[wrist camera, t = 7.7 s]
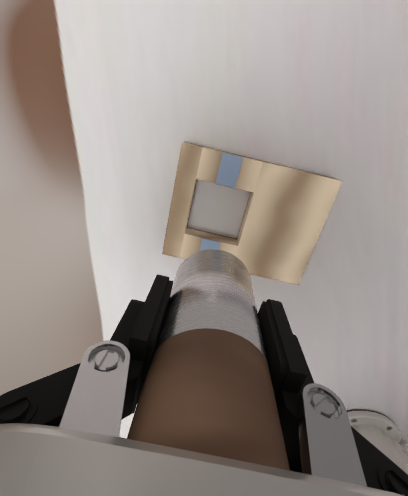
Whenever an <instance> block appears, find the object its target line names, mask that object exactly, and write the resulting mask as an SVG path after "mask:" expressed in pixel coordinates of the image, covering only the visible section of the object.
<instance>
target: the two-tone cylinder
mask: <svg viewBox="0 0 408 496" xmlns="http://www.w3.org/2000/svg"><path fill="white" fill-rule="evenodd" d="M127 439H131V440H136V441H141V442H146V443H151V444H157V445H162V446H167V447H172V448H178V449H183V450H188V451H193V452H198V453H203V454H209V455H214V456H219V457H224V458H229V459H234V460H239V461H244V462H249V463H254V464H259V465H264V466H269V467H274V468H279V469H284V470H289V471H290V468H289V463H288V458H287V453H286V448H285V443H284V439H283V434H282V429H281V424H280V419H279V415H278V410H277V405H276V400H275V395H274V391H273V386H272V381H271V376H270V371H269V367H268V362H267V357H266V352H265V347H264V342H263V338H262V333H261V328H260V323H259V318H258V314H257V309H256V304H255V299H254V294H253V290H252V285H251V280H250V275H249V272H248V270H247V268H246V266H245V265H244V263H243V262H242V261H241V260H240V259H239V258H237V257H236V256H234V255H233V254H231V253H229V252H226V251H223V250H217V249H209V250H202V251H199V252H196V253H194V254H192V255H191V256H189V257H188V258H187V259H185V260H184V262H183V263H182V264H181V266H180V267H179V269H178V271H177V275H176V278H175V281H174V285H173V288H172V291H171V295H170V299H169V303H168V306H167V309H166V313H165V316H164V319H163V323H162V326H161V329H160V333H159V336H158V339H157V343H156V346H155V349H154V353H153V356H152V360H151V363H150V366H149V368H148V371H147V374H146V377H145V381H144V384H143V387H142V390H141V394H140V397H139V400H138V404H137V407H136V410H135V414H134V417H133V420H132V424H131V427H130V430H129V434H128V437H127Z"/></svg>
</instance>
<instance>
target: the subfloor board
mask: <svg viewBox="0 0 408 496" xmlns="http://www.w3.org/2000/svg"><path fill="white" fill-rule="evenodd" d="M197 179H199V180H203V181H208V182H212V183H215V184H219V185H223V186H227V187H231V188H237V189H241V190H245V191H250V192H251V194H250V197H249V201H248V204H247V207H246V211H245V214H244V218H243V221H242V224H241V228H240V231H239V235H238V238H237V239H233V238H229V237H224V236H220V235H216V234H211V233H207V232H203V231H198V230H194V229H190V228H187V224H188V219H189V214H190V210H191V205H192V200H193V195H194V191H195V186H196V181H197ZM342 182H343V181H340V180H337V179H335V178H331V177H327V176H322V175H318V174H314V173H310V172H306V171H302V170H298V169H294V168H289V167H285V166H281V165H277V164H273V163H269V162H265V161H261V160H257V159H252V158H248V157H244V156H240V155H236V154H232V153H228V152H224V151H219V150H215V149H211V148H207V147H203V146H199V145H195V144H191V143H186V142H183V143H182V146H181V151H180V157H179V163H178V168H177V174H176V179H175V185H174V191H173V196H172V202H171V207H170V213H169V219H168V224H167V230H166V235H165V241H164V247H163V252H162V254H165V255H169V256H173V257H178V258H182V259H187V258H188V257H189V256H191V255H192V254H194V253H196V252H199V251H202V250H209V249H217V250H223V251H226V252H229V253H231V254H233V255H234V256H236V257H237V258H239V259H240V260H241V261H242V262H243V263H244V265H245V266H246V268H247V270H248V272H249V274H252V275H257V276H261V277H265V278H270V279H274V280H278V281H283V282H287V283H292V284H296V285H299V283H300V281H301V279H302V276H303V274H304V271H305V269H306V267H307V264H308V262H309V260H310V257H311V255H312V253H313V250H314V248H315V245H316V243H317V241H318V238H319V236H320V234H321V231H322V229H323V227H324V224H325V222H326V219H327V217H328V215H329V212H330V210H331V208H332V205H333V203H334V201H335V198H336V196H337V193H338V191H339V189H340V186H341V184H342Z"/></svg>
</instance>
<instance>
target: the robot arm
mask: <svg viewBox="0 0 408 496" xmlns="http://www.w3.org/2000/svg"><path fill="white" fill-rule="evenodd" d="M172 285H173V281H169V277H166V276H162V275H157V276H156V278H155V281H154V283H153V285H152V287H151V290H150V292H149V294H148V296H147V299H146V301H145V302H142V301H137V300H133V299H132V300H131V302H130V303H129V305H128V307H127V309H126V311H125V313H124V315H123V317H122V319H121V320H120V322H119V324H118V326H117V328H116V330H115V332H114V334H113V336H112V338H111V339H110V341H102V342H98V343H96V344H94V345H92V346H90V347H89V348H88V349H87V350H86V352H85V354H84V355H83V358H82V361H81V363H80V364H77V365H74V366H72V367H69V368H67V369H64V370H62V371H59V372H57V373H54V374H52V375H50V376H47V377H44V378H42V379H39V380H37V381H34V382H32V383H29V384H27V385H24V386H22V387H19V388H17V389H14V390H11V391H9V392H7V393H5V394H3V395H1V396H0V496H408V455H407V454H405V453H404V452H403V450H402V448H401V446H400V441H401V438H400V433H399V431H398V429H397V428H396V426H395V424H394V423H393V422H392V421H391V420H390V419H389V418H387V417H385V416H384V415H381V414H378V413H375V412H370V411H350V412H347V410H346V408H345V406H344V404H343V402H342V401H341V399H340V398H339V397H338V396H337V395H336V394H335V393H334V392H333V391H331V390H330V389H328V388H327V387H325V386H322V385H320V384H315V383H314V381H313V379H312V376H311V373H310V371H309V368H308V365H307V363H306V360H305V357H304V355H303V352H302V349H301V347H300V344H299V341H298V339H297V337H296V335H294V334H293V333H292V330H291V328H290V325H289V322H288V319H287V317H286V314H285V311H284V308H283V305H282V303H281V302H279V301H274V300H270V299H268V300H267V301H266V302H264V301H263V302H262V304H261V307H260V310H259V312H258V318H259V323H260V328H261V333H262V338H263V342H264V347H265V352H266V357H267V362H268V367H269V371H270V376H271V381H272V386H273V391H274V395H275V400H276V405H277V410H278V415H279V419H280V424H281V429H282V434H283V439H284V443H285V448H286V453H287V458H288V463H289V468H290V471H289V470H284V469H279V468H274V467H269V466H264V465H259V464H254V463H249V462H244V461H239V460H234V459H229V458H224V457H219V456H214V455H209V454H203V453H198V452H193V451H188V450H183V449H178V448H172V447H167V446H162V445H157V444H151V443H146V442H141V441H136V440H131V439H125V438H120V437H119V433H120V425H121V420H122V419H123V418H125V417H127V416H129V415H130V414H132V413H134V411H135V408H136V405H137V404H138V400H139V397H140V394H141V390H142V387H143V384H144V381H145V377H146V374H147V371H148V368H149V366H150V363H151V360H152V356H153V353H154V349H155V346H156V343H157V339H158V336H159V333H160V329H161V326H162V323H163V319H164V316H165V313H166V309H167V306H168V303H169V299H170V295H171V290H172Z"/></svg>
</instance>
